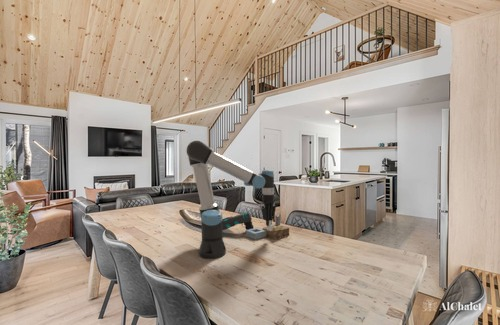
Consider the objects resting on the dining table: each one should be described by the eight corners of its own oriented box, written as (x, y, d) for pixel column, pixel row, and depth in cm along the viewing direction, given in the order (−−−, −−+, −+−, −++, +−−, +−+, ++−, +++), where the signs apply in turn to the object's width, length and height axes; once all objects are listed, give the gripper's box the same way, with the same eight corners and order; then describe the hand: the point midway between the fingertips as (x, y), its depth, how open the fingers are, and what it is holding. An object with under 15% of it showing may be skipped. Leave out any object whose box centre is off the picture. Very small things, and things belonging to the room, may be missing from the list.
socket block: (274, 239, 159) (274, 231, 159) (262, 235, 168) (262, 227, 168) (289, 235, 168) (289, 227, 168) (276, 231, 177) (276, 224, 177)
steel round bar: (277, 235, 167) (277, 216, 167) (274, 234, 169) (274, 215, 169) (281, 234, 169) (281, 216, 169) (277, 233, 172) (277, 215, 171)
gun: (255, 231, 173) (248, 211, 173) (216, 243, 174) (209, 224, 174) (255, 228, 179) (248, 209, 179) (218, 240, 181) (211, 221, 181)
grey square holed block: (255, 239, 159) (255, 233, 159) (245, 236, 167) (245, 230, 167) (266, 236, 165) (266, 230, 165) (257, 233, 173) (256, 227, 173)
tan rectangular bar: (274, 231, 159) (274, 227, 159) (272, 230, 161) (272, 226, 161) (282, 229, 164) (282, 225, 164) (280, 228, 165) (280, 225, 165)
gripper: (264, 195, 150) (265, 233, 150) (279, 193, 158) (280, 229, 158) (256, 194, 156) (257, 231, 156) (271, 192, 164) (272, 227, 164)
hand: (269, 230), depth 157 cm, fingers closed
